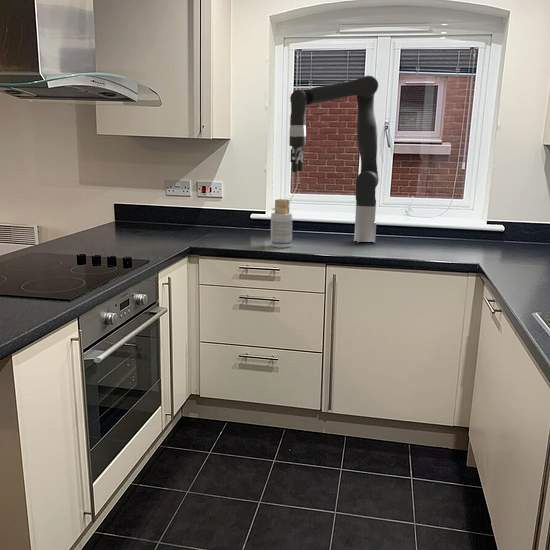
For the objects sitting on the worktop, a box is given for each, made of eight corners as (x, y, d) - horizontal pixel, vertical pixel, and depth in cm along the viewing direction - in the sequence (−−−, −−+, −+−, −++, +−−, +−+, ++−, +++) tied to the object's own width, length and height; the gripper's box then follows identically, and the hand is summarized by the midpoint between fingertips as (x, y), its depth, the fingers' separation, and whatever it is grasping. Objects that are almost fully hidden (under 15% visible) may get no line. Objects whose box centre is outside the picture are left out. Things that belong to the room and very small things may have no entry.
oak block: (278, 212, 261) (278, 199, 260) (289, 213, 259) (289, 199, 258) (274, 213, 257) (275, 200, 255) (285, 214, 255) (285, 200, 254)
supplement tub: (295, 247, 259) (296, 214, 256) (276, 248, 255) (277, 215, 252) (285, 243, 267) (286, 211, 264) (266, 245, 263) (267, 212, 260)
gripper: (294, 135, 275) (293, 170, 278) (285, 135, 262) (284, 172, 265) (309, 136, 273) (308, 171, 276) (301, 135, 259) (300, 172, 263)
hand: (297, 171), depth 271 cm, fingers open, 8 cm apart
